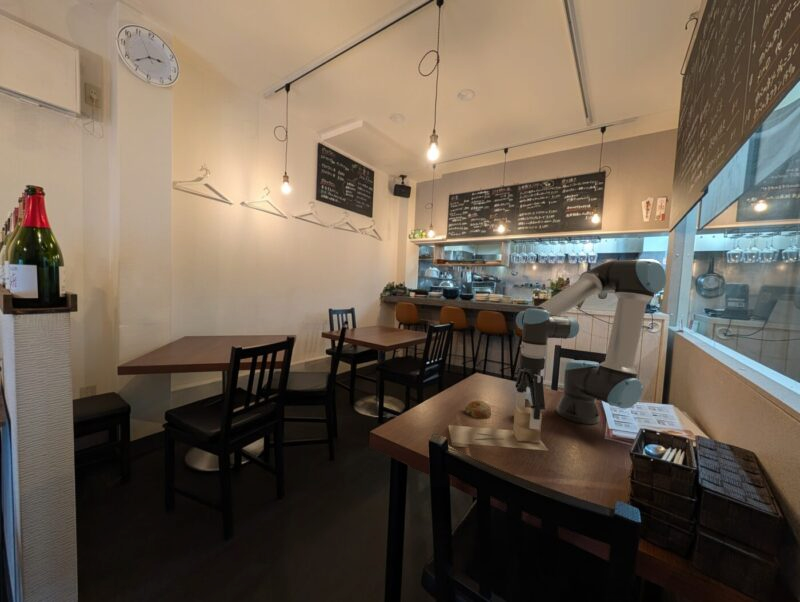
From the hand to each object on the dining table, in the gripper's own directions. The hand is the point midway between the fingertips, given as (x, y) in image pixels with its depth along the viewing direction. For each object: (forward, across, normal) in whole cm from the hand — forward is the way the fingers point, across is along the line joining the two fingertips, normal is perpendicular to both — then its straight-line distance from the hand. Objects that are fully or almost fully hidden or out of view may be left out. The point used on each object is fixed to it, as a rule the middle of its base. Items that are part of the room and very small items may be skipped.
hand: (526, 418), depth 102 cm
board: (+8, 0, -10) cm, 13 cm away
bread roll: (+9, -19, -12) cm, 24 cm away
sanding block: (+7, 0, 0) cm, 7 cm away
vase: (+8, -17, +6) cm, 19 cm away
